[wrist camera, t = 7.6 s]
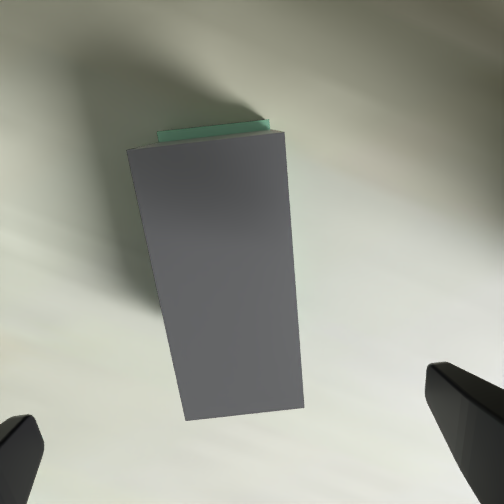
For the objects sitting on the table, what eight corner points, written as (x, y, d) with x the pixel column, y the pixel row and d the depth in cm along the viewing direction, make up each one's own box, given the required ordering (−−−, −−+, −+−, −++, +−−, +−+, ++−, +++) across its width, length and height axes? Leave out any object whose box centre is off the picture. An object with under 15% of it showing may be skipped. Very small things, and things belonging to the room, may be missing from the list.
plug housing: (270, 129, 16) (284, 132, 11) (288, 339, 20) (304, 407, 15) (159, 142, 16) (126, 149, 11) (198, 349, 20) (185, 420, 15)
